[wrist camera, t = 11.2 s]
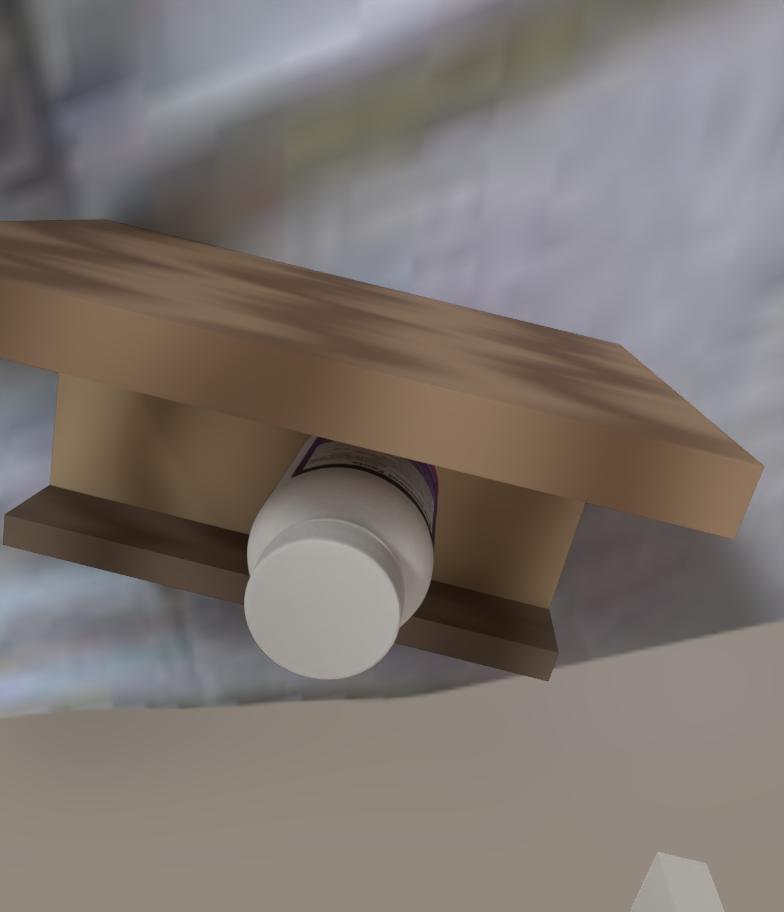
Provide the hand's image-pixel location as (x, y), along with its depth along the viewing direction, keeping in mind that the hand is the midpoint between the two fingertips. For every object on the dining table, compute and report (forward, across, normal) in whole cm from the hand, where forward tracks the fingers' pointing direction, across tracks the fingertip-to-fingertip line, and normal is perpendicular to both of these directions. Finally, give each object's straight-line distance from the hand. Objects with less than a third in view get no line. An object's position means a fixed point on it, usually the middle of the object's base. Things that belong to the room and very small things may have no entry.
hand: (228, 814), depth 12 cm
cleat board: (+19, -2, 0) cm, 19 cm away
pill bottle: (+17, 0, -1) cm, 17 cm away
